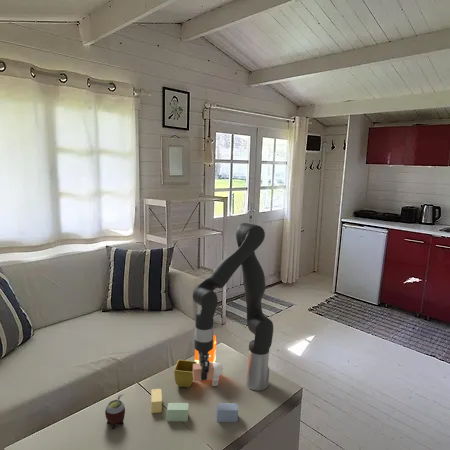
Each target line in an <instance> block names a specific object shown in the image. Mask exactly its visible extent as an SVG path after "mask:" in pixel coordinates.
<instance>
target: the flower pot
mask: <svg viewBox="0 0 450 450" xmlns="http://www.w3.org/2000/svg"><path fill="white" fill-rule="evenodd" d="M193 364H197V362H195V360H186V359H178V360H177V362H176V364H175V366H174V368H173V372H174V373H173V374H174V382H175V383H176V385H177V386H178V387H180V388H181V387H182V388H183V387H184V388H190V387H191V386H192V383H193V382H194V380H193Z"/></svg>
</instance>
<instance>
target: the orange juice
mask: <svg viewBox="0 0 450 450" xmlns="http://www.w3.org/2000/svg"><path fill="white" fill-rule="evenodd" d="M216 337H217V336H216V334H214V339H213V349H212V350H211V351H209V352H208V353H209V362H212V363H213V362H217V361H216V360H217V357H216V356H217V338H216ZM198 356H199V355H198V351H197V350H196V349H195V348H194V361H195V362H197V363H199V360H198Z"/></svg>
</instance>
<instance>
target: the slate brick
mask: <svg viewBox="0 0 450 450" xmlns="http://www.w3.org/2000/svg"><path fill="white" fill-rule="evenodd" d="M238 407H239V406H238V403H237V402H235V403H232V402H231V403H228V402H227V403H225V402H224V403H222V402H221V403H220V402H219V403H216V412H215V413H216V422H217V423H220V422H224V423H225V422H226V423H227V422H230V423H231V422H232V423H233V422H238V418H239V416H238V415H239V408H238Z"/></svg>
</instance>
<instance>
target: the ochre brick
mask: <svg viewBox="0 0 450 450" xmlns="http://www.w3.org/2000/svg"><path fill="white" fill-rule="evenodd" d="M150 392H151V395H150V396H151V397H150V398H151V399H150V400H151V402H150V404H151V405H150V406H151V409H150V410H151V411H150V413H151V414H156V413H162V412H163V410H162V409H163V398H162V395H163V393H162V388H154V389H153V388H152V389H151V391H150Z"/></svg>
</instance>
